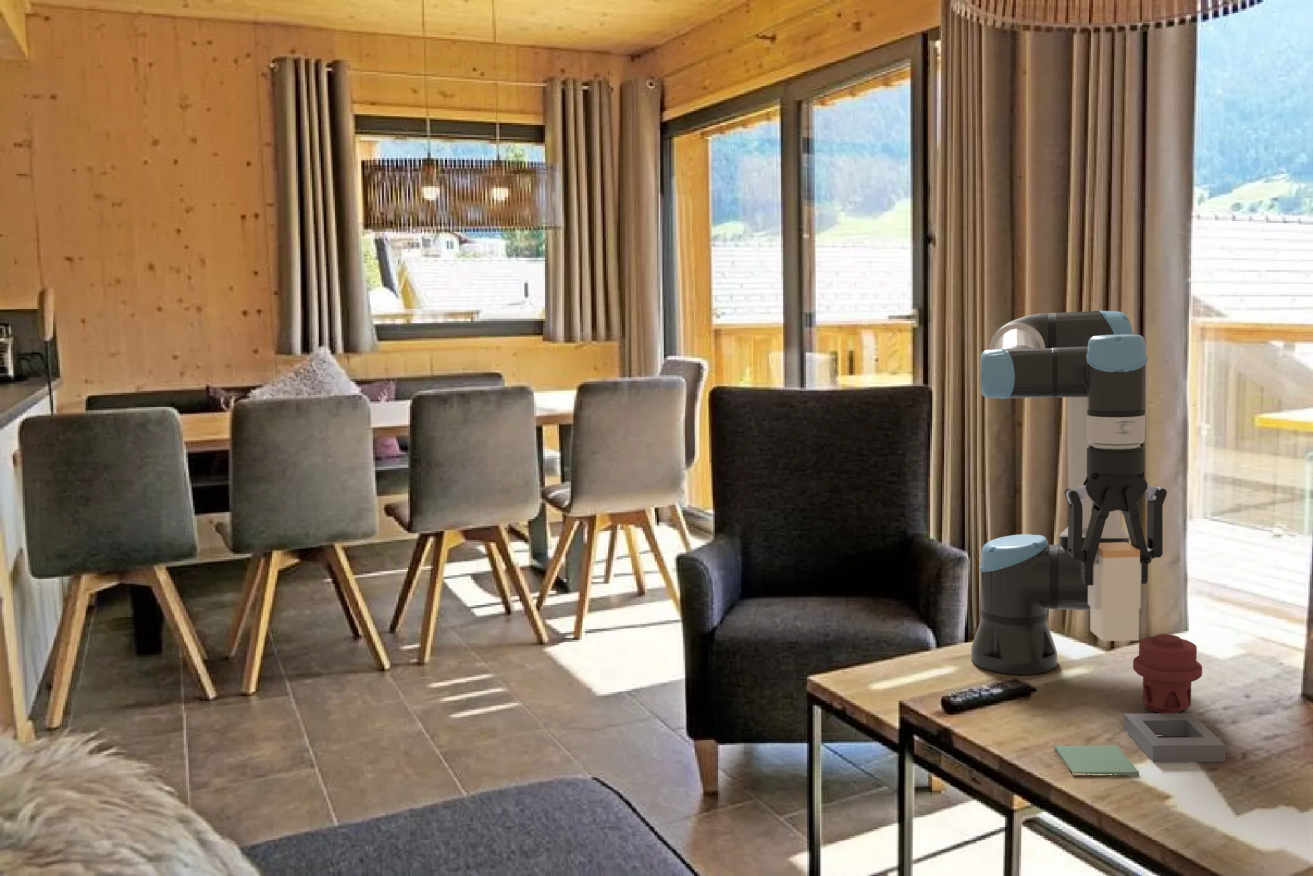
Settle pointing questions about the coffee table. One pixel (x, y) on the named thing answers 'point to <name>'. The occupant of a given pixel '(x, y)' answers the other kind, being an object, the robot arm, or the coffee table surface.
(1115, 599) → the plug
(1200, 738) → the grey square frame
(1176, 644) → the mechanical component
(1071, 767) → the mat
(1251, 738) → the coffee table surface
